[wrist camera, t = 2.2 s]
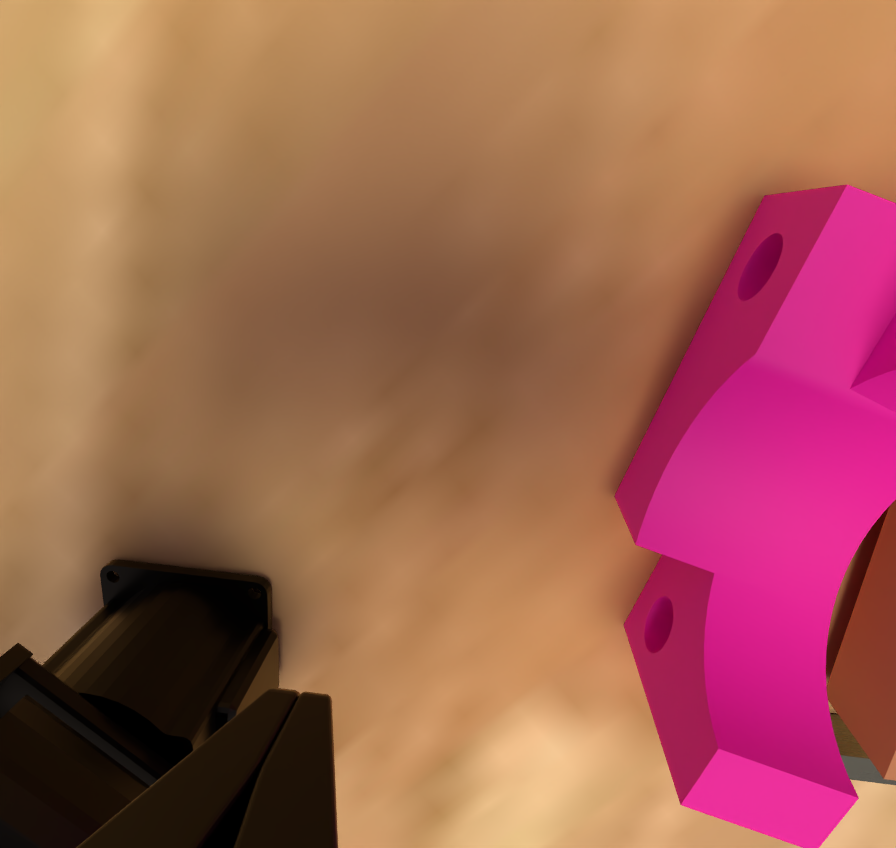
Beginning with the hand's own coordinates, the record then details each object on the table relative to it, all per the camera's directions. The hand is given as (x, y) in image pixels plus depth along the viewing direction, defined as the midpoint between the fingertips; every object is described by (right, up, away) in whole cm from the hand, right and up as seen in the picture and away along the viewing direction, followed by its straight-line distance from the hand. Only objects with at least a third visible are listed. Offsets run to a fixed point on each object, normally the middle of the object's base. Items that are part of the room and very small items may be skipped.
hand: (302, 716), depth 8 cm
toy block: (+12, +3, +12) cm, 17 cm away
